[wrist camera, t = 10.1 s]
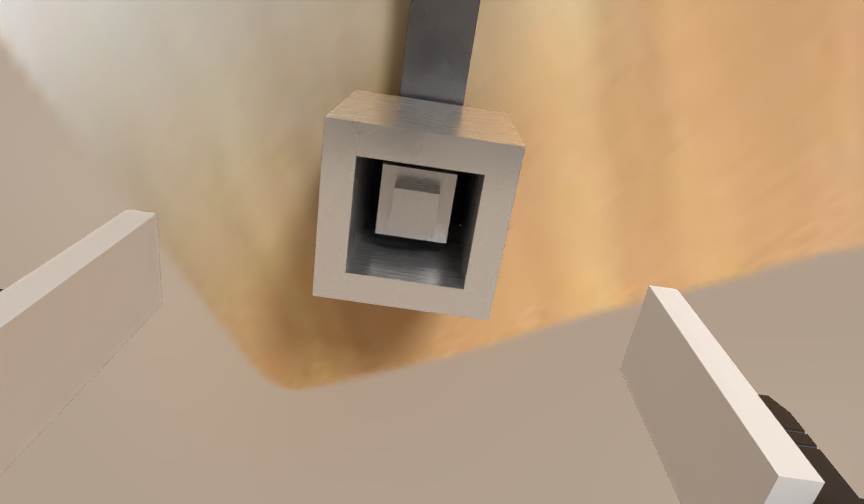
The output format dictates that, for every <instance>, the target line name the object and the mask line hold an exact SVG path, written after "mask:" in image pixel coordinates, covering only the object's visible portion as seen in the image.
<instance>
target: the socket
mask: <svg viewBox="0 0 864 504" xmlns="http://www.w3.org/2000/svg"><path fill="white" fill-rule="evenodd" d="M524 151H525V145H524V143H523V142H522V140H521V138H520V136H519V134H518V132H517V130H516V129H515V127H514V125H513V123H512V121H511V119H510V118H509V116H508V114H507V113H505V112H499V111H492V110H486V109H479V108H473V107H466V106H459V105H453V104H446V103H440V102H433V101H427V100H420V99H413V98H407V97H400V96H394V95H387V94H380V93H374V92H367V91H361V90H355V91H354V92H353V93H351V94H350V95H349V96H348V97H347V98H346V99H344V100H343V101H342V102H341V103H340V104H339V105H337V106H336V107H335V108H334V109H333V110H332V111H330V112H329V113H328V114H327V115H326V116H325V117H324V131H323V146H322V161H321V176H320V190H319V205H318V220H317V235H316V249H315V264H314V279H313V294H312V296H318V297H325V298H333V299H340V300H347V301H354V302H361V303H368V304H375V305H382V306H389V307H396V308H403V309H411V310H418V311H425V312H432V313H439V314H446V315H453V316H460V317H467V318H474V319H482V320H489V317H490V312H491V307H492V302H493V298H494V293H495V288H496V283H497V279H498V274H499V269H500V264H501V260H502V255H503V250H504V246H505V241H506V236H507V231H508V227H509V222H510V217H511V212H512V208H513V203H514V198H515V193H516V189H517V184H518V179H519V175H520V170H521V165H522V160H523V156H524ZM375 159H381V160H387V161H394V162H401V163H408V164H414V165H421V166H428V167H435V168H441V169H448V170H455V171H461V172H468V173H470V175H469V181H468V187H467V192H466V198H465V204H464V209H463V215H462V221H461V226H459V225H452V224H449V228H448V234H447V240H446V243H439V242H432V241H425V240H418V239H412V238H405V237H398V236H391V235H384V234H377V233H375V231H376V222H377V213H370V212H369V210H370V201H371V191H372V182H373V172H374V163H375Z"/></svg>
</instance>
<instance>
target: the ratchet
mask: <svg viewBox="0 0 864 504" xmlns="http://www.w3.org/2000/svg"><path fill="white" fill-rule="evenodd" d="M479 5H480V0H411V5H410V13H409V21H408V30H407V38H406V47H405V55H404V63H403V72H402V80H401V88H400V97H407V98H413V99H420V100H427V101H433V102H440V103H446V104H453V105H459V106H463V102H464V96H465V90H466V84H467V78H468V72H469V66H470V60H471V54H472V47H473V41H474V35H475V29H476V23H477V17H478V11H479ZM469 175H470V173H468V172H461V171H455V170H448V169H441V168H435V167H428V166H421V165H414V164H408V163H401V162H394V161H387V160H381V159H375V163H374V172H373V182H372V191H371V201H370V210H369V212H370V213H377V222H376V231H375V233H377V234H384V235H391V236H398V237H405V238H412V239H418V240H425V241H432V242H439V243H446V240H447V234H448V228H449V224H452V225H460V224H461V221H462V215H463V209H464V204H465V198H466V192H467V187H468V181H469Z"/></svg>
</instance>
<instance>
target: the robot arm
mask: <svg viewBox="0 0 864 504" xmlns="http://www.w3.org/2000/svg"><path fill="white" fill-rule="evenodd" d="M161 292H162V291H161V275H160V258H159V241H158V224H157V213H151V212H145V211H138V210H131V209H127V210H125V211H124V212H122V213H120V214H119V215H117V216H116V217H114V218H113V219H111V220H110V221H108V222H107V223H105V224H104V225H102V226H101V227H99V228H98V229H96V230H94V231H93V232H91V233H90V234H88V235H87V236H85V237H84V238H82V239H81V240H79V241H78V242H76V243H74V244H73V245H71V246H70V247H68V248H67V249H66V250H64V251H62V252H61V253H59V254H58V255H56V256H55V257H53V258H52V259H50V260H48V261H47V262H46V263H44V264H42V265H41V266H39V267H38V268H36V269H35V270H33V271H32V272H30V273H29V274H27V275H26V276H24V277H22V278H21V279H19V280H18V281H16V282H15V283H13V284H12V285H10V286H9V287H7V288H6V289H0V476H1V475H2V474H3V473H4V471H6V469H7V468H8V467H9V466H10V465H11V464H12V463H13V462H14V461H15V460H16V459H17V458H18V457H19V456H20V455H21V454H22V453H23V451H24V450H25V449H26V448H27V447H28V446H29V445H30V444H31V443H32V442H33V441H34V440H35V439H36V438H37V437H38V436H39V435H40V434H41V432H42V431H43V430H44V429H45V428H46V427H47V426H48V425H49V424H50V423H51V422H52V421H53V420H54V419H55V418H56V417H57V415H58V414H59V413H60V412H61V411H62V410H63V409H64V408H65V407H66V406H67V405H68V404H69V403H70V402H71V401H72V400H73V398H74V397H75V396H76V395H77V394H78V393H79V392H80V391H81V390H82V389H83V388H84V387H85V386H86V385H87V384H88V383H89V382H90V380H91V379H92V378H93V377H94V376H95V375H96V374H97V373H98V372H99V371H100V370H101V369H102V368H103V367H104V366H105V365H106V364H107V363H108V361H109V360H110V359H111V358H112V357H113V356H114V355H115V354H116V353H117V352H118V351H119V350H120V349H121V348H122V347H123V346H124V344H125V343H126V342H127V341H128V340H129V339H130V338H131V337H132V336H133V335H134V334H135V333H136V332H137V331H138V330H139V329H140V328H141V327H142V325H143V324H144V323H145V322H146V321H147V320H148V319H149V318H150V317H151V316H152V315H153V314H154V313H155V312H156V311H157V310H158V308H159V307H160V306H161V305H162V293H161ZM620 370H621V372H622V374H623V377H624V379H625V380H626V383H627V385H628V387H629V390H630V392H631V394H632V396H633V399H634V401H635V403H636V405H637V408H638V410H639V412H640V414H641V417H642V419H643V421H644V423H645V426H646V428H647V430H648V432H649V434H650V437H651V439H652V441H653V443H654V445H655V448H656V450H657V452H658V454H659V457H660V459H661V461H662V463H663V465H664V468H665V470H666V472H667V475H668V477H669V479H670V481H671V483H672V486H673V488H674V490H675V492H676V494H677V497H678V499H679V501H680V503H681V504H864V499H861V498H859V497H858V496H857V495H856V494H855V492H854V491H853V490H852V489H851V487H850V486H849V485H848V484H847V482H846V481H845V480H844V479H843V477H842V476H841V475H840V474H839V473H838V471H837V470H836V469H835V468H834V466H833V465H832V464H831V463H830V461H829V460H828V459H827V458H826V456H825V455H824V454H823V453H822V452H821V451H820V450H819V449H817V448H816V447H817V446H816V444H815V443H814V442H813V441H812V439H811V438H810V437H809V435H808V434H805V433H804V429H803V428H802V427H801V426H800V424H799V423H798V422H797V421H796V420H795V418H794V417H793V416H792V415H791V413H790V412H788V411H787V410H786V409H785V408H783V407H782V406H780V405H779V404H778V403H777V402H775V401H774V400H773V399H772V398H770V397H769V396H766V395H758V394H757V393H756V392H755V391H754V389H753V388H752V387H751V385H750V384H749V383H748V381H747V380H746V379H745V378H744V376H743V375H742V373H741V372H740V371H739V370H738V368H737V367H736V366H735V364H734V363H733V362H732V361H731V359H730V358H729V357H728V355H727V354H726V353H725V351H724V350H723V349H722V348H721V346H720V345H719V343H718V342H717V341H716V340H715V338H714V337H713V336H712V335H711V333H710V332H709V330H708V329H707V328H706V327H705V325H704V324H703V323H702V321H701V320H700V319H699V317H698V316H697V315H696V313H695V312H694V311H693V310H692V308H691V307H690V306H689V304H688V303H687V302H686V300H685V299H684V298H683V296H682V295H681V294H680V293H679V291H678V290H677V289H671V288H665V287H658V286H651V285H649V287H648V290H647V293H646V296H645V298H644V301H643V304H642V307H641V310H640V313H639V316H638V319H637V322H636V325H635V328H634V331H633V334H632V336H631V339H630V342H629V345H628V348H627V351H626V354H625V357H624V360H623V363H622V366H621V369H620Z"/></svg>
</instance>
